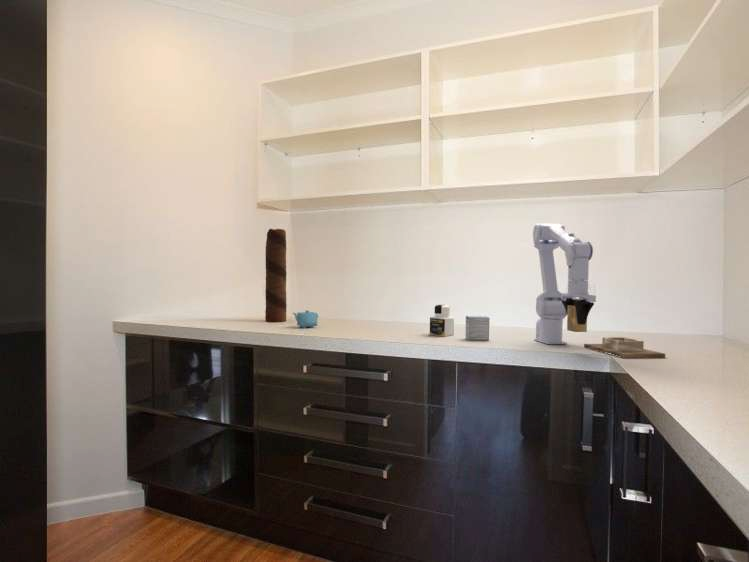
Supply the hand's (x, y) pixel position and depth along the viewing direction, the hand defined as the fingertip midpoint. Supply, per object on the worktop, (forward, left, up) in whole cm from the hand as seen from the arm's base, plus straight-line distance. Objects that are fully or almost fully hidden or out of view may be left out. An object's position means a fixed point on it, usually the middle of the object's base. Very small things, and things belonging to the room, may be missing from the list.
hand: (576, 323), depth 128 cm
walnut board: (0, +16, -9) cm, 19 cm away
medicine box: (-27, -22, -10) cm, 36 cm away
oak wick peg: (0, 0, -2) cm, 2 cm away
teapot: (-62, -87, -10) cm, 107 cm away
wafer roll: (-85, -102, -10) cm, 133 cm away
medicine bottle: (-39, -32, -10) cm, 51 cm away
